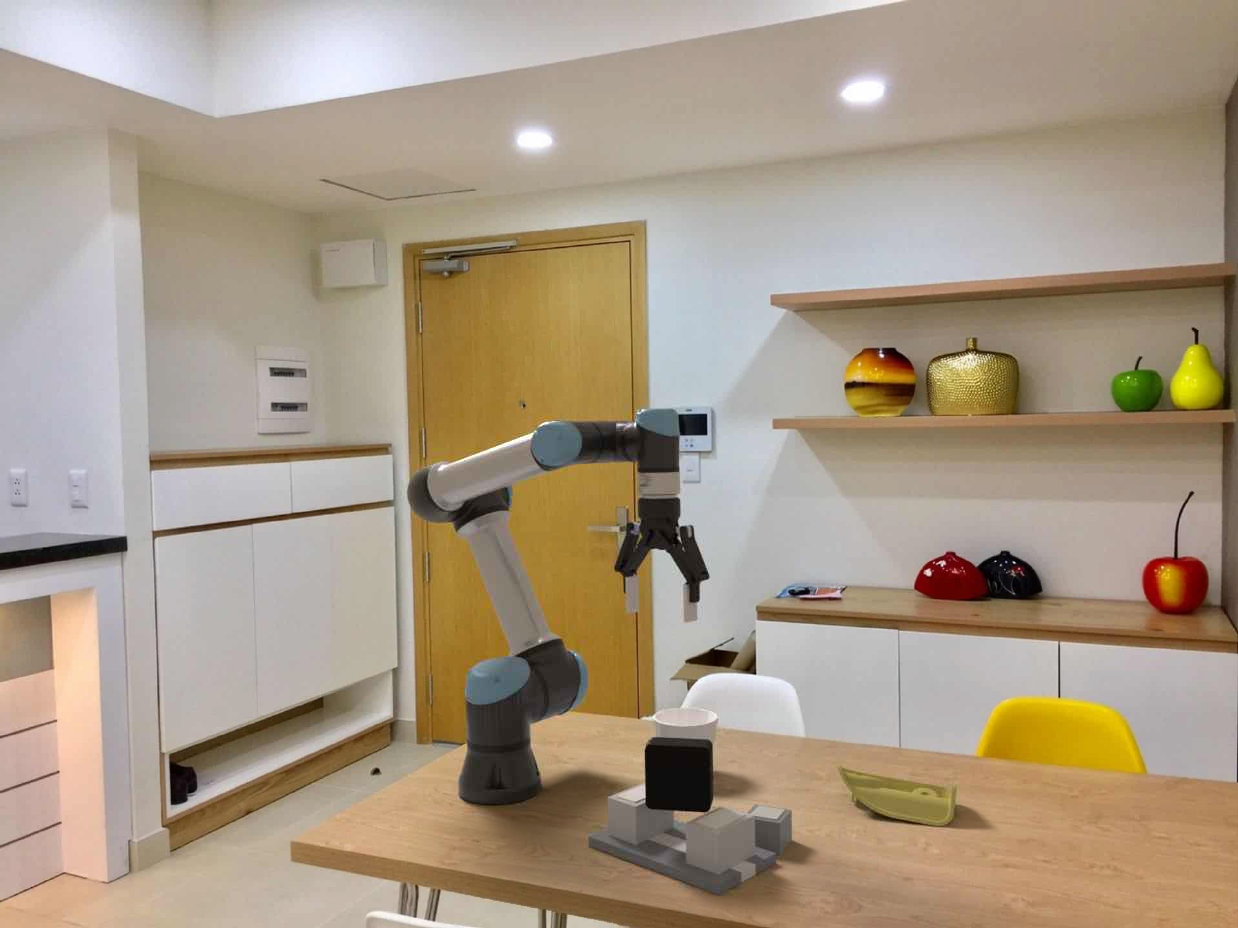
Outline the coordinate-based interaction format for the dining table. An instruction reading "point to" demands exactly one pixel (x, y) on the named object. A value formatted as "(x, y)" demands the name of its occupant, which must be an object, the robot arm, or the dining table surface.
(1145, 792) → the dining table surface
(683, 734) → the cup
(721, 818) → the board
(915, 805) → the plastic component
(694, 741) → the electronic device
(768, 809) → the module
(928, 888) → the dining table surface
